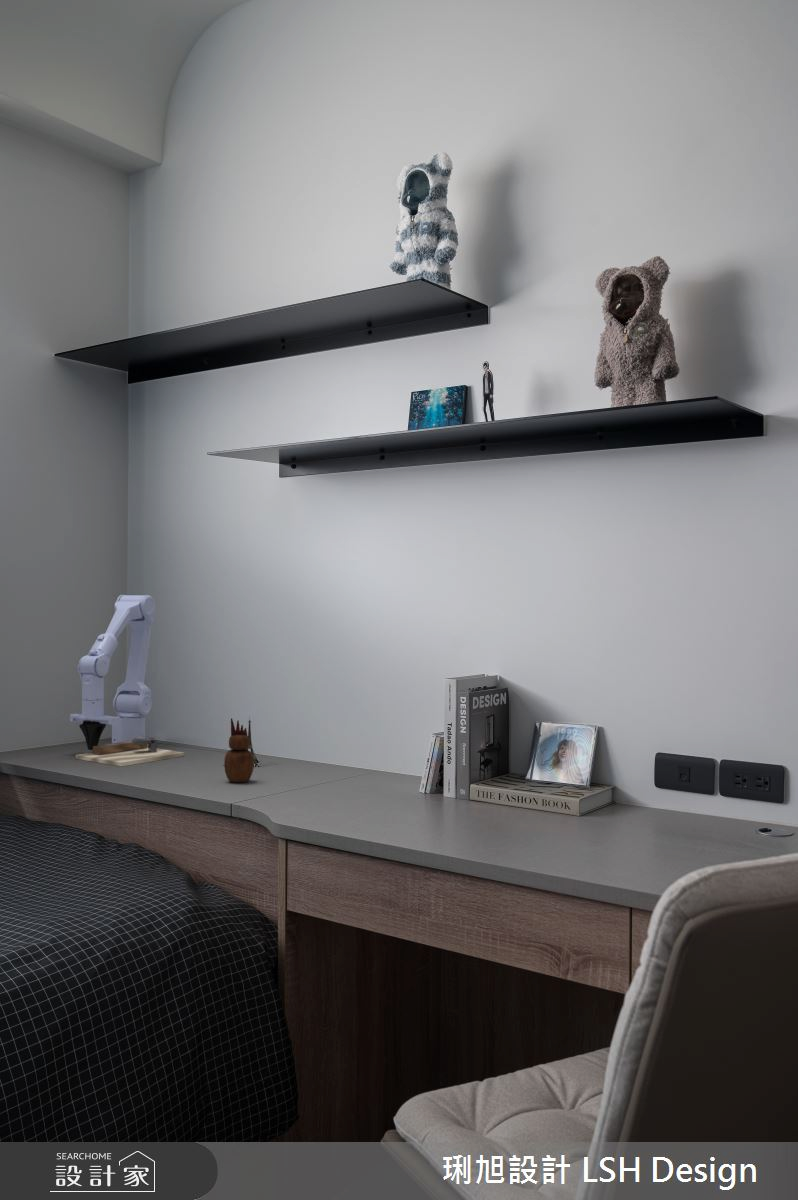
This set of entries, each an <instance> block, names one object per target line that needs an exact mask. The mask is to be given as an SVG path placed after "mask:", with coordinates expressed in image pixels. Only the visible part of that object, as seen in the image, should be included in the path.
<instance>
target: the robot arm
mask: <svg viewBox="0 0 798 1200" xmlns="http://www.w3.org/2000/svg"><path fill="white" fill-rule="evenodd" d="M156 606H157V605H156V603H155V600H154V598H153V597H152V596H151V595H149V594H144V595H141V594H140V595H137V594H136V595H135V594H134V595H130V594H129V595H126V594H120V595H119V596H118V597H117V599H116V601H115V603H114V614H113V616H112V617H111V621H110V623H109V625H108V627H107V629H106V631H105V633H102V634H99V635H98V636H97V638H96V640H95V642H94V643H93V644H92V646H91V648H90V649H89V651H88V653H87V655H84V656H82V657H81V658H80V659H79V662H78V665H77V667H76V668H77V672H78V674H79V681H80V683H81V713H71V714H69V722H80V723H81V724H79V725H78V726H79V728H80V730H81V731H82V734H83V736H84V738H85V742H86V746H87V750H89V751H93V746H97V745H99V742H100V739H101V735H102V734H103V732H104V730H105V728H106V725H109V726H110V725H111V744H112V743H119V742H126V741H132V739H135V737H142V739H145V738H146V717H148V714H149V713H150V711H151V709H152V705H153V702H152V690H151V688H149V687H148V686H147V685H146V684H145V679H146V671H147V665H148V664H147V663H148V657H149V648H150V640H151V633H152V626H153V625H154V621H155V614H156V608H157V607H156ZM127 625H129V626H130V627H131V629H132V631H131V639H130V645H129V651H128V652H129V653H128V661H127V667H126V674H125V681H124V682H123V683H122V684H121V685H119V686H117V688H116V693H115V696H114V698H113V701H112V707H113V711H114V713H116V716H111V715H106V714H105V676H106V675H107V674H108V672H109V671H110V663H111V658H112V656H113V654H114V652H115V650H116V649H117V647H118V645H119V643H118V638H119V636H120V635H121V634H122V632H123V630H124V629H125V628H126V626H127ZM147 747H148V743H147Z"/></svg>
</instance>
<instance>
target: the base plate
mask: <svg viewBox="0 0 798 1200" xmlns="http://www.w3.org/2000/svg"><path fill="white" fill-rule="evenodd" d="M184 756H185V752H183V751H176V750H171V749H170V750H169V749H162V748H157V752H155V753H150V752H149V751H148V747H147V748H142V749H135V750H128V751H121V752H114V753H108V754H101V755H99V754H93V752H86V753H81V754H75V759H77V760H80V761H88V762H92V763H98V764H99V763H100V764H105V765H110V766H116V767H126V766H132V765H138V764H139V765H140V764H144V763H150V762H157V761H162V760H168V759H175V758H180V757H181V758H182V757H184Z"/></svg>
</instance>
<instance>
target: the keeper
mask: <svg viewBox="0 0 798 1200" xmlns="http://www.w3.org/2000/svg"><path fill="white" fill-rule="evenodd" d="M132 743H134V744H146V743H147V744H148V751H149V752H150V753H155V752H157V749H158V747H157V746H158V744H157V743H158V741H157V739H156V738H154V737H151V738H149V737H148V738H146V737H145V739H132Z"/></svg>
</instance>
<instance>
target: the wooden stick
mask: <svg viewBox="0 0 798 1200" xmlns="http://www.w3.org/2000/svg"><path fill="white" fill-rule="evenodd" d="M135 739H142V737H135ZM147 744H148V743H146V744H134V743H132V741H126V742H119V743H112V742H111V743H105V744H98V745H97V746H93V750H92V753H93V754H99V755H101V754H108V753H114V752H121V751H128V750H135V749H142V748H147Z"/></svg>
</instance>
